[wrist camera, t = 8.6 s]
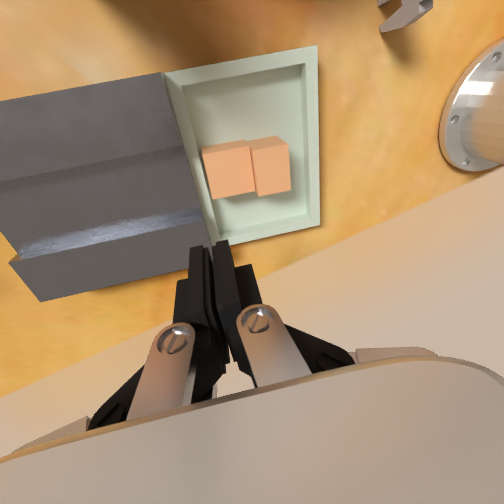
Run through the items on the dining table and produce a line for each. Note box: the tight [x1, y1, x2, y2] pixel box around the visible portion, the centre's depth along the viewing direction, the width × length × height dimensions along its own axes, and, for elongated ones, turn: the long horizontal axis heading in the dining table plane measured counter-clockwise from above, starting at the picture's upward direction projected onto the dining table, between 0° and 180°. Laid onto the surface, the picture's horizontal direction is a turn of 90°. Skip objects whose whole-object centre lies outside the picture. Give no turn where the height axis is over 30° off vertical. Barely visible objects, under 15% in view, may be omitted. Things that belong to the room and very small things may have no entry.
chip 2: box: [246, 136, 291, 196], centre depth 25 cm, size 4×4×3 cm
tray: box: [164, 45, 320, 246], centre depth 26 cm, size 12×16×2 cm
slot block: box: [0, 72, 213, 302], centre depth 24 cm, size 17×16×4 cm
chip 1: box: [201, 139, 255, 199], centre depth 25 cm, size 4×4×3 cm
